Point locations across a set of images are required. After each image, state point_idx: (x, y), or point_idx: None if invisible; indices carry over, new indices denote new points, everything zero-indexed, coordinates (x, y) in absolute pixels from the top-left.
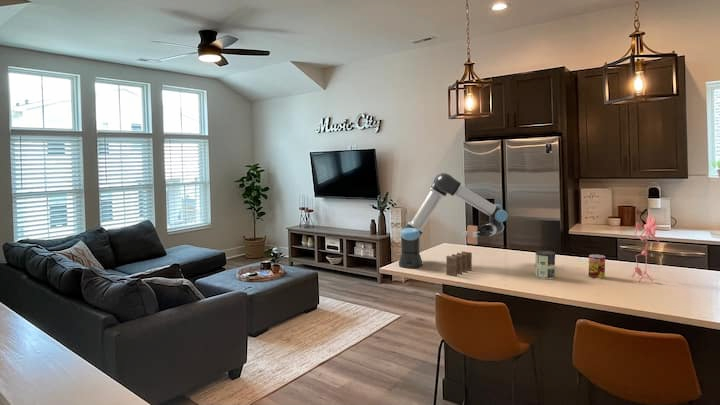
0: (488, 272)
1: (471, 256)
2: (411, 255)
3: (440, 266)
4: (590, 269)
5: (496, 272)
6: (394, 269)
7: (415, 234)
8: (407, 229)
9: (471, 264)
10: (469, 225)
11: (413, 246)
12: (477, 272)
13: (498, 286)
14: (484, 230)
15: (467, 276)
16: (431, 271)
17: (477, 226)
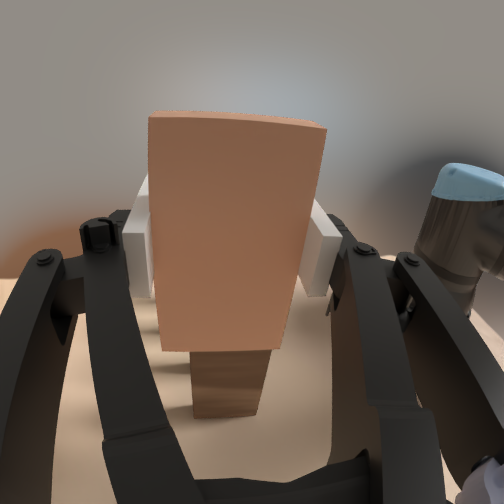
0: (94, 435)
1: (190, 364)
2: (412, 251)
3: None
4: None
5: (57, 457)
6: (390, 256)
7: (443, 175)
8: (489, 173)
9: (192, 398)
10: (300, 123)
11: (424, 221)
12: None
13: (17, 280)
14: (110, 458)
15: (147, 320)
16: (311, 298)
17: (148, 123)
